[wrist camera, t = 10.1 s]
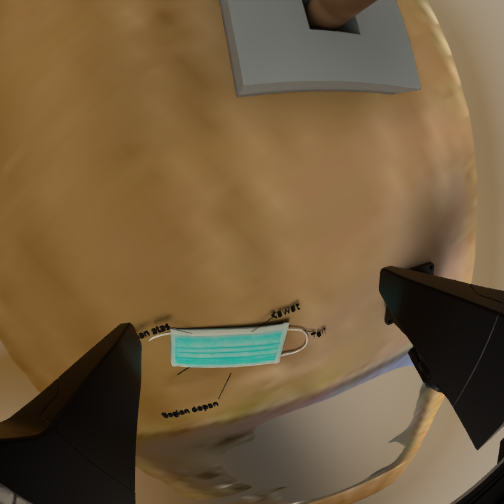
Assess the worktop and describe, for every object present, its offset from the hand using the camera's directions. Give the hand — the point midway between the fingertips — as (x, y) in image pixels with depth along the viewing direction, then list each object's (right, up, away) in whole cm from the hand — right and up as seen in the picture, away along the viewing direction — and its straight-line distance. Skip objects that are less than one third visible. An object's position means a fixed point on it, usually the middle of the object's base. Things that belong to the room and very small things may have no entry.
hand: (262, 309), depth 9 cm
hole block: (+4, +20, +7) cm, 22 cm away
